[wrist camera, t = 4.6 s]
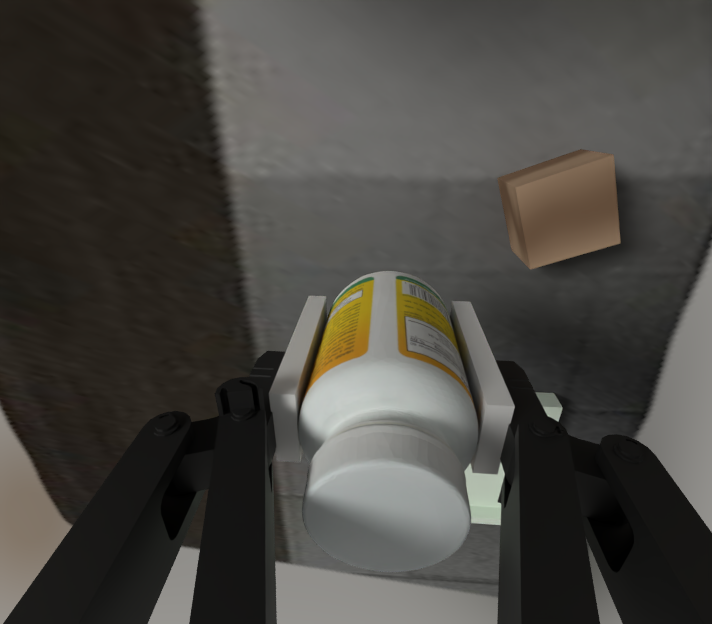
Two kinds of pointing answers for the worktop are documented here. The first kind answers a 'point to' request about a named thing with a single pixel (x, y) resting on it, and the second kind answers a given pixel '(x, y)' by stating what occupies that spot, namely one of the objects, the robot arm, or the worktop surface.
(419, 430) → the supplement bottle
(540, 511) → the robot arm
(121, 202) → the worktop surface
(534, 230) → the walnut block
